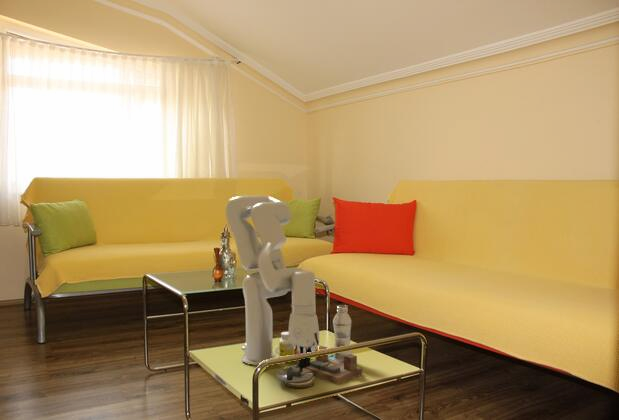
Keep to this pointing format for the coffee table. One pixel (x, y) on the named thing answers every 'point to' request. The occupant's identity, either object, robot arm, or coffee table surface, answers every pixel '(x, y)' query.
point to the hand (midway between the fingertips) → (304, 366)
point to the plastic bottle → (342, 331)
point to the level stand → (335, 368)
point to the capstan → (296, 376)
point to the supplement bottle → (285, 345)
